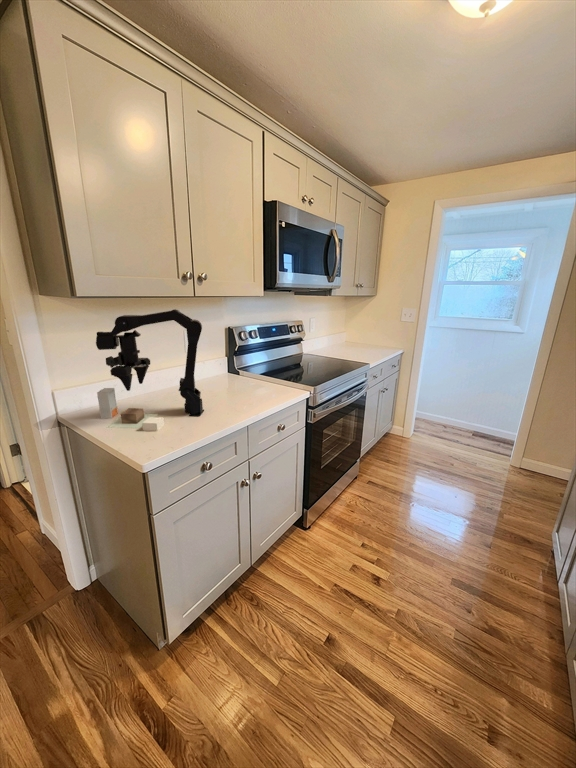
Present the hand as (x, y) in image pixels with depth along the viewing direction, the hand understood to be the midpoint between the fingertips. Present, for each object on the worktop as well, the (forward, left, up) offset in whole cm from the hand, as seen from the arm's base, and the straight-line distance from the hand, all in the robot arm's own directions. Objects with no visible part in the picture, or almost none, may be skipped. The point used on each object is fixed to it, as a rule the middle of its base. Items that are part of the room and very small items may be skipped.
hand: (134, 387), depth 126 cm
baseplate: (0, +5, -13) cm, 14 cm away
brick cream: (-11, +11, -13) cm, 21 cm away
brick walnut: (0, +5, -12) cm, 13 cm away
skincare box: (+12, +1, -14) cm, 18 cm away
